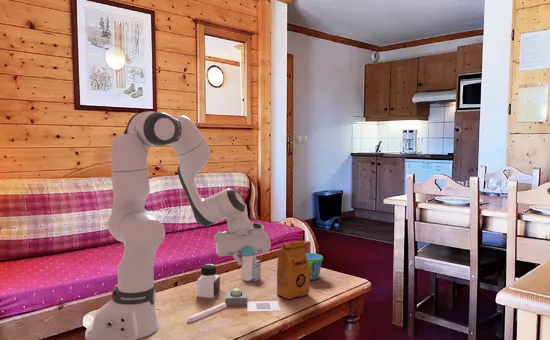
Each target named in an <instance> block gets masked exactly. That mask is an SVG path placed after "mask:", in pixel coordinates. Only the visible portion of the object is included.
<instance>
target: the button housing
mask: <svg viewBox="0 0 550 340" xmlns="http://www.w3.org/2000/svg"><path fill="white" fill-rule="evenodd" d="M247 292H248V291H247V289H241V296H232V289H231V290H226V289H225V303H226V306H227V307H228V306H231V307H233V306H247V302H248V293H247Z"/></svg>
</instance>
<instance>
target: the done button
mask: <svg viewBox="0 0 550 340" xmlns="http://www.w3.org/2000/svg"><path fill="white" fill-rule="evenodd" d="M231 290H232V296H241V290H242V289H241V288H239V287H237V288H236V287H235V288H232V289H231Z"/></svg>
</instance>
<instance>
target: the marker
mask: <svg viewBox="0 0 550 340" xmlns="http://www.w3.org/2000/svg"><path fill="white" fill-rule="evenodd" d="M227 307H228V306H226V302H222V303H220V304H217V305H215V306H213V307H210V308H207V309H205V310H202V311H200V312H198V313H196V314H193V315H191V316H189V317H188V318H187V319H186V322H187V323H194V322H196V321H199V320H200V319H203V318H205V317H208V316H210V315H213V314H214V313H217V312H219V311H221V310H224V309H226V308H227Z"/></svg>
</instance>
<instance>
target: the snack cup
mask: <svg viewBox="0 0 550 340" xmlns="http://www.w3.org/2000/svg"><path fill="white" fill-rule="evenodd" d="M305 254H306V256H307V259H308V263H309V268H310V276H309V281H316V280H319V278H320V273H321V268H322V262H323V261H324V257H323V255H321V254H318V253H315V252H313V253H312V252H308V253H307V252H305Z"/></svg>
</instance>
